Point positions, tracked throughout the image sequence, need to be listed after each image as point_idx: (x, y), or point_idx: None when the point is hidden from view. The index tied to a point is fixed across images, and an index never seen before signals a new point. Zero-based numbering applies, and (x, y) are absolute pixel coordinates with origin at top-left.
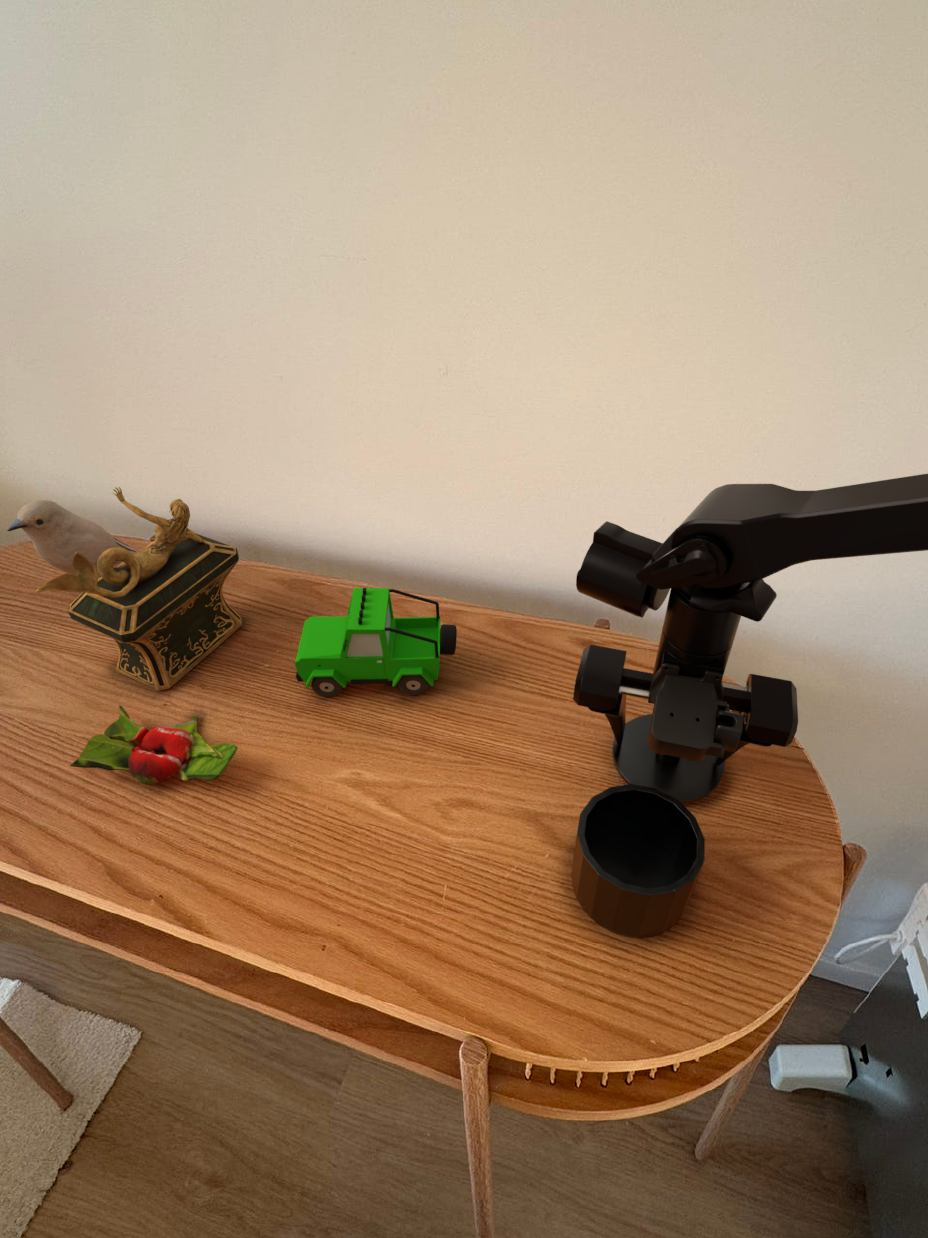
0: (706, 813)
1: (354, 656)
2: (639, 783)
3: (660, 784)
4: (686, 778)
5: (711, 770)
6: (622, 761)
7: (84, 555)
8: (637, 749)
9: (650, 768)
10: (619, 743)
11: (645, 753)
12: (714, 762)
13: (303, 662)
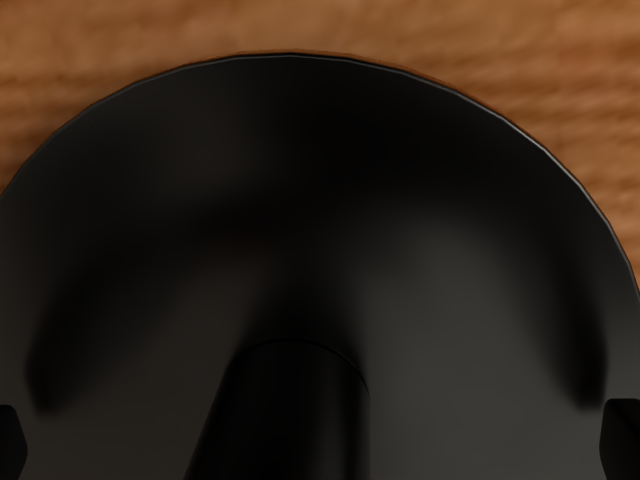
0: (4, 90)
1: None
2: (440, 137)
3: (296, 177)
4: (148, 273)
5: (32, 367)
6: (577, 284)
7: None
8: (483, 395)
9: (382, 282)
10: (632, 407)
11: (429, 380)
12: (16, 420)
13: None
